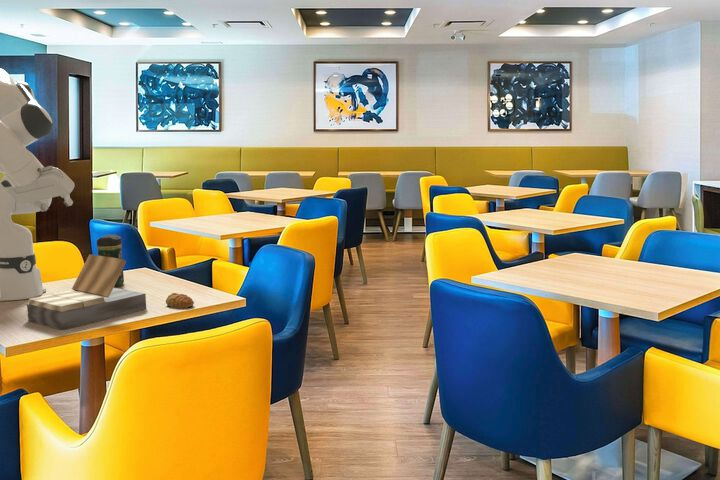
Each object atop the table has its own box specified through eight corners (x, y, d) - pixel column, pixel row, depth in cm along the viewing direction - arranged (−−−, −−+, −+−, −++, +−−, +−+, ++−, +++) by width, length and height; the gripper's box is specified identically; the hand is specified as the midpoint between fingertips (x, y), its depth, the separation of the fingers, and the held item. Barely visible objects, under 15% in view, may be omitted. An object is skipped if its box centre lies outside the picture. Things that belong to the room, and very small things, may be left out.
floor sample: (28, 320, 203) (26, 299, 202) (111, 302, 225) (110, 282, 224) (62, 330, 192) (60, 306, 191) (146, 309, 214) (145, 288, 214)
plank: (75, 291, 214) (71, 288, 213) (93, 256, 218) (89, 254, 217) (108, 297, 204) (104, 295, 203) (126, 261, 208) (122, 259, 207)
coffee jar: (119, 288, 247) (115, 236, 244) (96, 288, 246) (93, 237, 244) (127, 282, 256) (123, 232, 253) (105, 283, 256) (101, 233, 253)
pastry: (199, 306, 218) (198, 294, 218) (182, 310, 213) (181, 298, 212) (180, 302, 224) (179, 290, 223) (163, 306, 219) (162, 295, 218)
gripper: (59, 157, 190) (90, 194, 199) (5, 170, 198) (37, 205, 207) (49, 172, 186) (80, 209, 195) (-6, 185, 194) (27, 219, 202)
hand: (58, 207), depth 201 cm, fingers open, 8 cm apart
